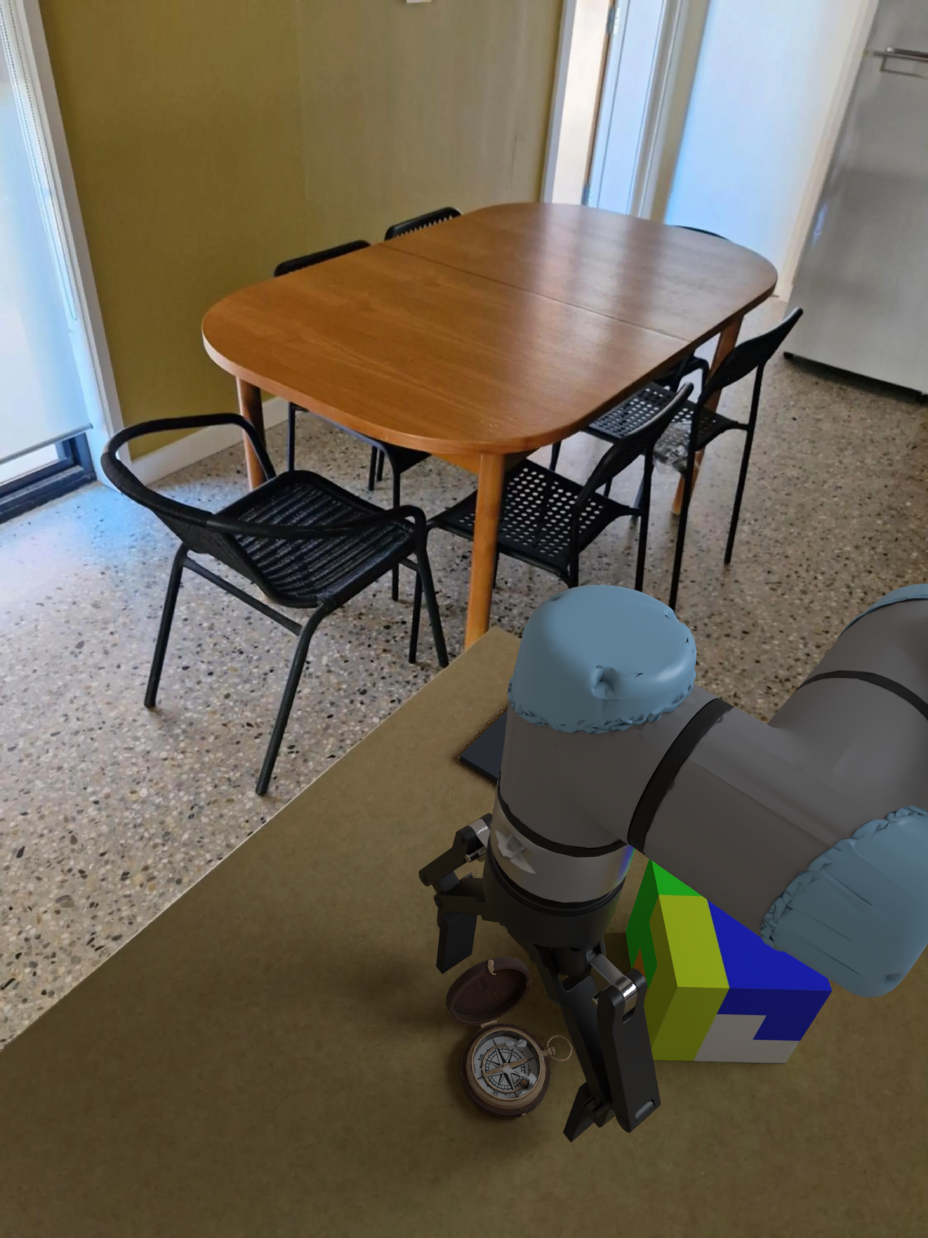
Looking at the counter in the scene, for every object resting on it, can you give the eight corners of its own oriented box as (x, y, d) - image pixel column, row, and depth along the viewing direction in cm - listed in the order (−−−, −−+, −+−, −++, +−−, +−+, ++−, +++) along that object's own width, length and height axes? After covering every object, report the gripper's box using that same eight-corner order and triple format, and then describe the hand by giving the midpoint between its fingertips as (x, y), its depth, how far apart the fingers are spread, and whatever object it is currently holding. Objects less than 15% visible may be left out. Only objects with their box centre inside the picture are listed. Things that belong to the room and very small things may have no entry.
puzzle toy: (785, 1063, 63) (832, 991, 57) (646, 1060, 62) (677, 986, 56) (749, 935, 71) (786, 859, 64) (625, 931, 70) (650, 854, 64)
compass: (480, 1136, 58) (489, 1086, 53) (440, 1022, 63) (445, 968, 59) (589, 1095, 60) (607, 1044, 56) (541, 989, 66) (554, 935, 61)
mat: (647, 748, 86) (648, 742, 85) (578, 833, 77) (579, 827, 77) (534, 688, 91) (535, 682, 91) (459, 761, 83) (459, 755, 82)
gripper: (370, 731, 52) (367, 929, 66) (689, 1092, 38) (602, 1251, 51) (470, 683, 56) (448, 879, 69) (796, 994, 41) (688, 1166, 55)
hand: (513, 1037), depth 60 cm, fingers open, 13 cm apart
